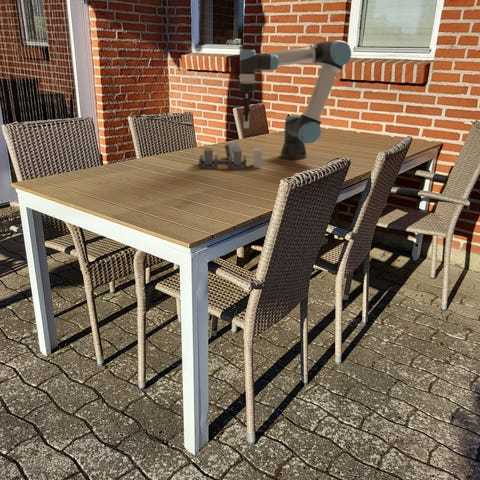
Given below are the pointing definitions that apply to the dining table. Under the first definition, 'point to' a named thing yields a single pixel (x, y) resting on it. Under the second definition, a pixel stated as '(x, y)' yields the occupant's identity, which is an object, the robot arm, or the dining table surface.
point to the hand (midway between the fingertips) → (246, 126)
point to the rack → (208, 162)
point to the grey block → (257, 158)
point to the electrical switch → (231, 149)
